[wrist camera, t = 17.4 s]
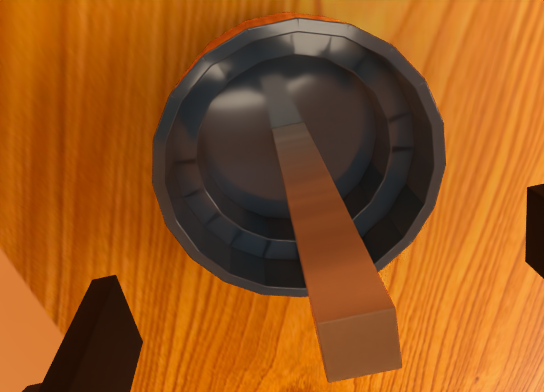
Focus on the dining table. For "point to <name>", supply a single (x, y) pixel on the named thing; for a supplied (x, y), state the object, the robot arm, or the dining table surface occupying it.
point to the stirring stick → (335, 266)
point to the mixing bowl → (323, 129)
